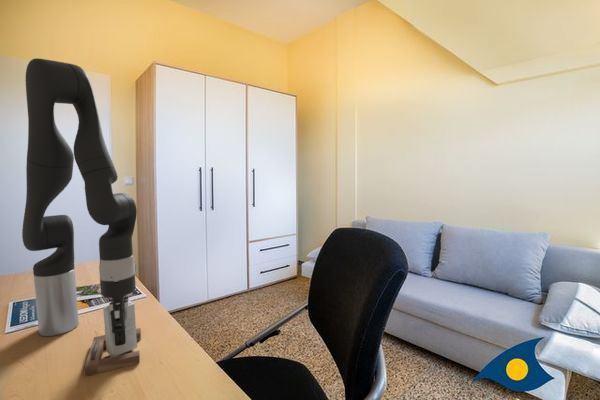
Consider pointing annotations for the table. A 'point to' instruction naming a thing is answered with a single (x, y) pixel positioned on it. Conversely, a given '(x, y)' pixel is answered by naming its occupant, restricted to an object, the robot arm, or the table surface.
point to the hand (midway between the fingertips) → (121, 338)
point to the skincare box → (129, 331)
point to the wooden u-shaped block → (100, 365)
